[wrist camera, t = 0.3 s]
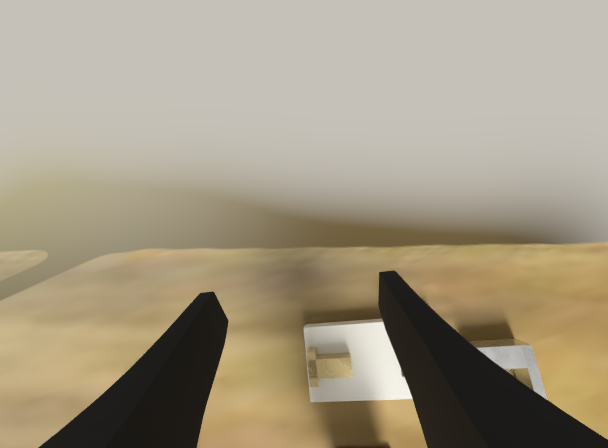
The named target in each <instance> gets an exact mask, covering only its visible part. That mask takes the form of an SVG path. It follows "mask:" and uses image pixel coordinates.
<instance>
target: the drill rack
mask: <svg viewBox="0 0 608 448" xmlns="http://www.w3.org/2000/svg"><path fill="white" fill-rule="evenodd" d="M468 342H470V343H471V344H472V345H473V346H475V347H476V348H477V349H478V350H480V351H481V352H482V353H483V354H485V355H486V356H487V357H488V358H490V359H491V360H492V361H494V362H495V363H496V364H498V365H499V366H500V367H502V368H503V369H514V373H515V377H516V379H518V380H519V381H521V382H522V383H523V384H525V385H526V386H528V387H529V388H531V389H532V390H534V391H535V392H536V393H538V394H539V395H541V396H542V397H544V398H545V399H547V397H546V394H545V390H544V387H543V383H542V380H541V376H540V373H539V369H538V366H537V362H536V359H535V355H534V352H533V348H532V345H531V344H528V343H526V342H523V341H520V340H518V339H515V338H513V339H496V340H480V341H468Z"/></svg>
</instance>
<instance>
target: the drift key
mask: <svg viewBox="0 0 608 448" xmlns="http://www.w3.org/2000/svg"><path fill="white" fill-rule="evenodd" d="M307 361H308V372H309V382H310V387H319V382H320V379H324V378H346V377H353V372H352V364H351V356H350V353H335V354H318V355H317V347H312V348H308V350H307Z"/></svg>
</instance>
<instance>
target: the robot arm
mask: <svg viewBox="0 0 608 448" xmlns="http://www.w3.org/2000/svg"><path fill="white" fill-rule="evenodd" d="M378 305H379V309H380V312H381V316H382V320H383V323H384V326H385V330H386V332H387V335H388V337H389V340H390V342H391V345H392V347H393V350H394V352H395V355H396V357H397V360H398V362H399V365H400V367H401V370H402V372H403V375H404V377H405V380H406V382H407V385H408V387H409V390H410V393H411V396H412V398H413V401H414V404H415V408H416V411H417V414H418V417H419V421H420V424H421V427H422V430H423V433H424V437H425V440H426V444H427V447H428V448H608V440H607V439H606V438H604V437H602V436H601V435H599V434H598V433H596V432H595V431H593V430H592V429H590V428H588V427H587V426H585V425H584V424H582V423H581V422H579V421H578V420H576V419H575V418H573V417H572V416H570V415H569V414H567V413H565V412H564V411H562V410H561V409H560V408H558V407H557V406H555V405H554V404H552V403H551V402H549V401H548V400H547V399H545V398H544V397H542V396H541V395H539V394H538V393H536V392H535V391H534V390H532V389H531V388H529V387H528V386H526V385H525V384H523V383H522V382H521V381H519V380H518V379H516V378H515V377H514V376H512V375H511V374H510V373H508V372H507V371H506V370H504V369H503V368H502V367H500V366H499V365H498V364H496V363H495V362H494V361H492V360H491V359H490V358H488V357H487V356H486V355H485V354H483V353H482V352H481V351H480V350H478V349H477V348H476V347H475V346H473V345H472V344H471V343H470V342H468V341H467V340H466V339H465V338H464V337H463V336H461V335H460V334H459V333H458V332H457V331H456V330H454V329H453V328H452V327H451V326H450V325H449V324H448V323H447V322H445V321H444V320H443V319H442V318H441V317H440V316H439V315H438V314H437V313H436V312H435V311H434V310H433V309H432V308H431V307H430V306H428V305H427V304H426V303H425V302H424V301H423V300H422V299H421V298H420V297H419V296H418V295H417V294H416V293H415V292H414V291H413V289H412V288H411V287H410V286H409V285H408V284H407V283H406V282H405V281H404V280H403V279H402V278H401V277H400V276H399V274H398V273H397V272H395V271H386V272H379V303H378ZM227 327H228V319H227V317H226V315H225V313H224V311H223V309H222V307H221V305H220V303H219V301H218V299H217V297H216V295H215V293H214V292H206V293H200V294H199V295H198V296H197V297H196V298H195V299H194V301H193V302H192V303H191V304H190V305H189V306H188V307H187V308H186V309H185V311H184V312H183V313H182V314H181V315H180V316H179V317H178V318H177V320H176V321H175V322H174V323H173V324H172V325H171V326H170V327H169V328H168V329H167V331H166V332H165V333H164V334H163V335H162V336H161V337H160V338H159V339H158V340H157V341H156V342H155V343H154V345H153V346H152V347H151V348H150V349H149V350H148V351H147V352H146V353H145V354H144V355H143V356H142V357H141V358H140V359H139V360H138V361H137V362H136V363H135V364H134V365H133V366H132V367H131V368H130V369H129V370H128V371H127V372H126V373H125V374H124V375H123V376H122V377H121V378H120V379H119V380H117V381H116V382H115V383H114V384H113V385H112V386H111V387H110V388H109V389H108V390H107V391H106V392H104V393H103V394H102V395H101V396H100V397H99V398H98V399H97V400H95V401H94V402H93V403H92V404H91V405H90V406H88V407H87V408H86V409H85V410H84V411H82V412H81V413H80V414H79V415H78V416H77V417H75V418H74V419H73V420H72V421H71V422H69V423H68V424H67V425H66V426H65V427H64V428H62V429H61V430H60V431H59V432H57V433H56V434H55V435H54V436H52V437H51V438H50V439H49V440H47V441H46V442H45V443H44V444H42V445H41V446H40V447H39V448H197V443H198V438H199V434H200V429H201V424H202V420H203V415H204V412H205V408H206V404H207V401H208V397H209V394H210V391H211V388H212V384H213V381H214V378H215V374H216V371H217V368H218V365H219V361H220V358H221V355H222V351H223V348H224V344H225V339H226V333H227Z"/></svg>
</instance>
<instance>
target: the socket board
mask: <svg viewBox="0 0 608 448" xmlns="http://www.w3.org/2000/svg"><path fill="white" fill-rule="evenodd" d="M304 339H305V350H306V361H307V350H308V348H312V347H317V355H318V354H335V353H350V356H351V364H352V372H353V377H346V378H324V379H320V382H319V387H310V382H309V372H308V361H307V372H308V382H309V393H310V402H336V401H366V400H397V399H413V398H412V396H411V393H410V390H409V387H408V385H407V382H406V380H405V377H404V375H403V372H402V370H401V367H400V365H399V362H398V360H397V357H396V355H395V352H394V350H393V347H392V345H391V342H390V340H389V337H388V335H387V332H386V330H385V326H384V323H383V320H382V318H381V319H368V320H355V321H341V322H328V323H315V324H306V325H305V326H304Z"/></svg>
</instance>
